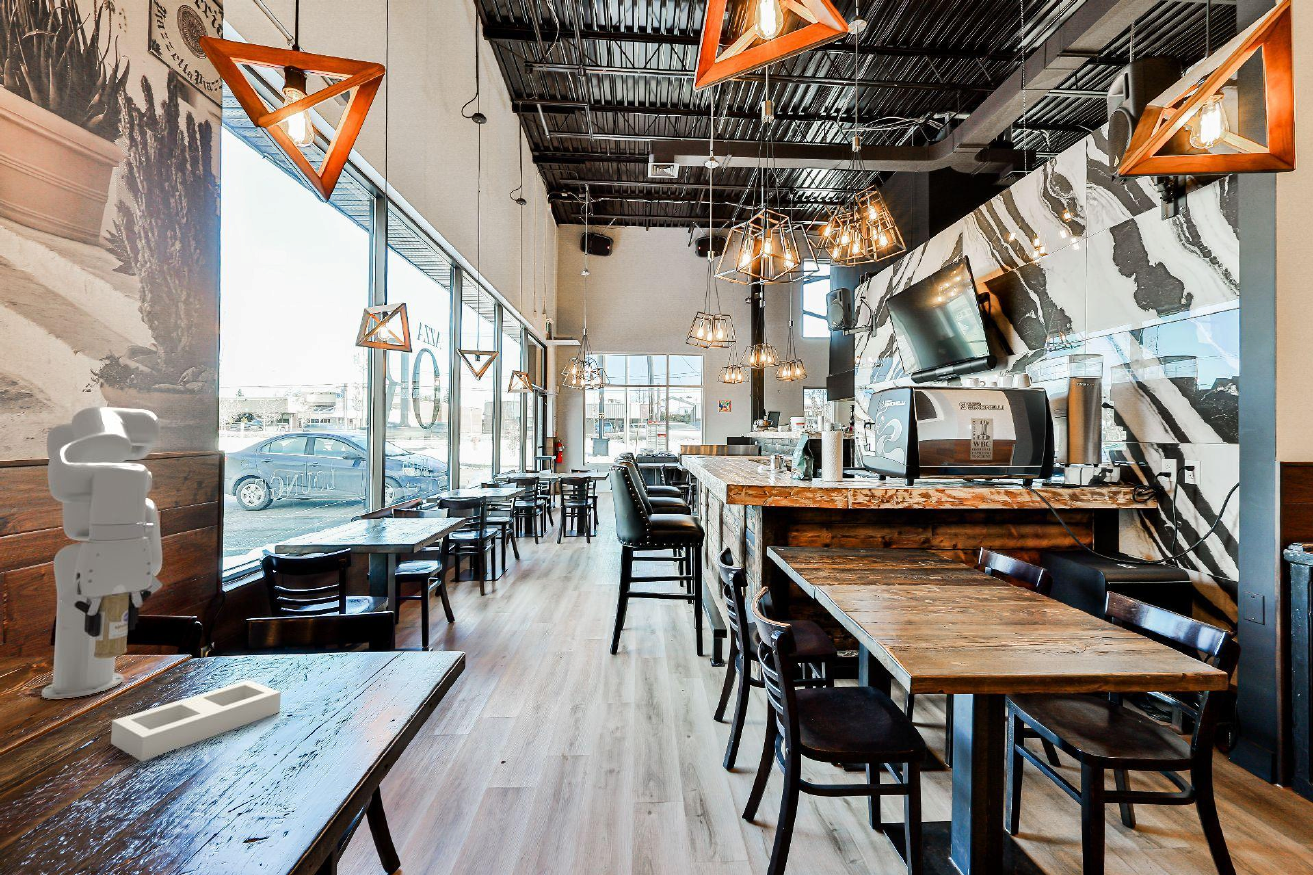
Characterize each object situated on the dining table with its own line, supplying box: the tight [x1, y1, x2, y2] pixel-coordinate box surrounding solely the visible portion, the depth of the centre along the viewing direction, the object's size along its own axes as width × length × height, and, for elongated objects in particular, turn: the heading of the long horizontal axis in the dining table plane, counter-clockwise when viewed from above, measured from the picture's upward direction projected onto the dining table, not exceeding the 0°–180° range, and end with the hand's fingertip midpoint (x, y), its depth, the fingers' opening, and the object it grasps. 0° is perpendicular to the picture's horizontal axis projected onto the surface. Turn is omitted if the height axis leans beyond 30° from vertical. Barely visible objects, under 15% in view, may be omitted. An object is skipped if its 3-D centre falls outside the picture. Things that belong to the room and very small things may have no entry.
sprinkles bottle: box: [94, 585, 129, 658], centre depth 107 cm, size 5×5×13 cm
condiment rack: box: [110, 680, 282, 762], centre depth 109 cm, size 12×22×4 cm, turn 152°
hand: (111, 630), depth 107 cm, fingers closed on sprinkles bottle, 4 cm apart
